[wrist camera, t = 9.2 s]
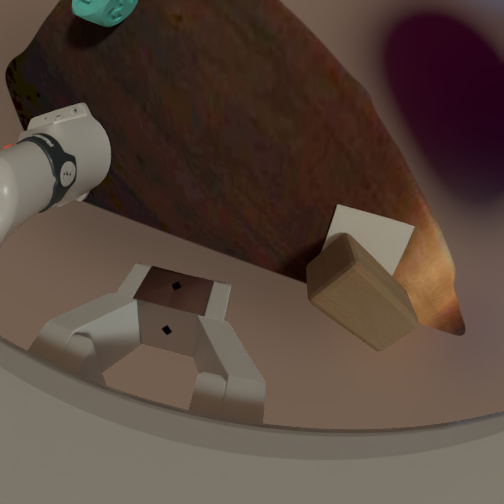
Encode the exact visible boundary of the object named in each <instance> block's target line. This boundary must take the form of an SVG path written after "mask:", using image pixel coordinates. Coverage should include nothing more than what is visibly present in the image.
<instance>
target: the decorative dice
mask: <svg viewBox="0 0 504 504" xmlns="http://www.w3.org/2000/svg"><path fill="white" fill-rule="evenodd" d="M137 2H138V0H72V12H73V14H75V15H77V16H79V17H81V18H83V19H85V20H88V21H90V22H93V23H96V24H98V25H101V26H105V27H111V26H114V25H116V24H118V23H120V22H121V21H123V20H124V19H125V18H126V17H127V16H128V15H129V14H130V13H131V12H132V11H133V9H134V8H135V6H136V4H137Z"/></svg>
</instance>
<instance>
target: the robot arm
mask: <svg viewBox="0 0 504 504" xmlns="http://www.w3.org/2000/svg"><path fill="white" fill-rule="evenodd" d="M75 110H77V112H76V111H75ZM110 161H111V148H110V142H109V139H108V136H107V134H106V132H105V130H104V128H103V127H102V126H101V125H100V123H99V122H98V121H96V120H95V119H94V118H93V117H92V115H91V113H90V111H89V109H88V107H87V105H86V104H85V103H79V104H75V105H72V106H68V107H65V108H61V109H58V110H55V111H52V112H49V113H46V114H43V115H40V116H37V117H35V118H32V119H31V121H30V123H29V126H28V130H27V131H24V132H22V133H21V135H20V136H19V139H18V143H17V144H16V145H14V144H8V145H5V146H4V147H3V150H1V151H0V248H1V246H2V245H3V243H4V242H5V241H6V240H7V238H8V237H9V236H10V235H11V234H12V233H13V232H14V231H15V230H16V229H17V228H19V227H20V226H21V225H22V224H24V223H25V222H26V221H27V220H29V219H30V218H32V217H33V216H34V215H35V214H37V213H41V212H44V211H46V210H48V209H50V208H52V207H53V206H57V207H61V206H63V205H64V204H66V203H69V202H70V201H72V200H74V199H75V200H77V201H82V200H84V199H85V198H86V197H87V195H88V194H89V192H90V190H91V189H93V188H94V187H96V186H97V185H99V184H100V183H101V182H102V181H103V179H104V178H105V176H106V174H107V172H108V170H109V166H110ZM230 289H231V284H230V283H226V282H220V281H212V280H208V279H203V278H199V277H194V276H190V275H185V274H182V273H178V272H174V271H170V270H166V269H162V268H159V267H155V266H150V265H146V264H142V263H137V264H135V266H134V267H133V268H132V270H131V271H130V273H129V274H128V276H127V277H126V278H125V280H124V281H123V283H122V285H121V286H120V288H119V289H118V290H117V292H116V293H115V294H114V293H109V294H107V295H104V296H102V297H100V298H98V299H96V300H93V301H91V302H89V303H87V304H84V305H82V306H80V307H78V308H75V309H73V310H71V311H69V312H67V313H65V314H62V315H60V316H58V317H56V318H54V319H51V320H49V321H48V322H47V323H46V325H45V326H44V328H43V329H42V330H41V332H40V333H39V334H38V336H37V338H36V339H35V340H34V342H33V343H32V345H31V346H30V348H29V349H28V351H27V350H25V349H23V348H21V347H19V346H17V345H15V344H14V343H12V342H10V341H8V340H7V339H5V338H3V337H1V336H0V504H504V412H499V413H494V414H490V415H486V416H481V417H476V418H471V419H466V420H460V421H454V422H448V423H441V424H434V425H425V426H416V427H404V428H390V429H357V430H356V429H354V430H353V429H317V428H301V427H290V426H279V425H270V424H263V417H264V401H265V384H266V382H265V381H264V379H263V378H262V376H261V374H260V373H259V371H258V370H257V368H256V366H255V365H254V363H253V362H252V360H251V358H250V357H249V355H248V354H247V352H246V350H245V348H244V347H243V345H242V344H241V342H240V340H239V339H238V337H237V335H236V334H235V332H234V330H233V329H232V327H231V325H230V324H229V322H227V321H224V318H225V313H226V308H227V303H228V299H229V294H230ZM141 343H142V344H145V345H149V346H154V347H157V348H162V349H166V350H169V351H173V352H177V353H180V354H184V355H188V356H191V357H194V361H195V364H196V366H197V369H198V372H199V375H198V376H197V380H196V384H195V388H194V391H193V395H192V399H191V403H190V407H189V410H186V409H182V408H177V407H173V406H170V405H166V404H162V403H158V402H155V401H152V400H148V399H145V398H142V397H138V396H135V395H132V394H129V393H126V392H123V391H120V390H117V389H114V388H111V387H108V386H106V383H105V380H104V377H103V375H102V373H103V372H104V371H105V370H107V369H108V368H109V367H111V366H112V365H114V364H115V363H116V362H118V361H119V360H120V359H122V358H123V357H125V356H126V355H127V354H129V353H130V352H132V351H133V350H134V349H135V348H137V347H138V346H140V345H141Z"/></svg>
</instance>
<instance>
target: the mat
mask: <svg viewBox="0 0 504 504" xmlns="http://www.w3.org/2000/svg"><path fill="white" fill-rule="evenodd" d="M413 230H414V226H412V225H409V224H406V223H402V222H399V221H396V220H392V219H389V218H386V217H382V216H379V215H375V214H372V213H368V212H364V211H361V210H357V209H354V208H350V207H346V206H342V205H338V204H337V207H336V210H335V213H334V216H333V219H332V222H331V225H330V228H329V231H328V234H327V237H326V240H325V243H324V246H323V249H322V251H323V250H324V249H326V248H327V247H328V246H329V245H330V244H331V243H332V242H334V241H335V240H336V239H337V238H338V237H339V236H340V235H342V234H343V233H345V232H346V233H348V234H350V235H351V236H352V237H353V238H354V239H355V240H356V241H357V242H358V243H359V244H360V245H361V246H362V247H363V248H364V249H366V250H367V251H368V252H369V253H370V254H371V255H372V256H373V257H374V258H375V259H376V260H377V261H378V262H379V263H380V264H381V265H382V267H383V268H384V269H385V270H386V271H387V272H388V273H389V274H390V275H391V276H392V275H393V273H394V271H395V269H396V267H397V265H398V263H399V261H400V259H401V256H402V254H403V252H404V250H405V248H406V246H407V243H408V241H409V239H410V237H411V234H412V232H413ZM322 251H321V252H322Z"/></svg>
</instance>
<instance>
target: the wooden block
mask: <svg viewBox="0 0 504 504" xmlns="http://www.w3.org/2000/svg"><path fill="white" fill-rule="evenodd" d="M306 275H307V288H308V299H309V301H310V302H311V303H312V305H314V306H315V307H317V308H318V309H319V310H321V311H322V312H323V313H325V314H326V315H327V316H329V317H330V318H332V319H333V320H334V321H336V322H337V323H338V324H340V325H341V326H343V327H344V328H345V329H347V330H348V331H349V332H351V333H352V334H353V335H355V336H356V337H358V338H359V339H361V340H362V341H363V342H364V343H366V344H367V345H369V346H370V347H371V348H373V349H374V350H376V351H382V350H383V349H385V348H386V347H388V346H390V345H391V344H393V343H394V342H396V341H397V340H399V339H400V338H402V337H403V336H405V335H406V334H408V333H409V332H411V331H412V330H413V329H415V328H416V327H417V326H418V325H419V322H418V318H417V316H416V313H415V311H414V308H413V306H412V304H411V301H410V299H409V297H408V294H407V292H406V290H405V289H404V288H403V287H402V286H401V285H400V284H399V283H398V282H397V281H396V280H395V279H394V278H393V277H392V276H391V275H390V274H389V273H388V272H387V271H386V270H385V269H384V268H383V267H382V265H381V264H380V263H379V262H378V261H377V260H376V259H375V258H374V257H373V256H372V255H371V254H370V253H369V252H368V251H367V250H366V249H364V248H363V247H362V246H361V245H360V244H359V243H358V242H357V241H356V240H355V239H354V238H353V237H352V236H351V235H350V234H348V233H346V232H345V233H343V234H342V235H340V236H339V237H338V238H337V239H336V240H335V241H334V242H332V243H331V244H330V245H329V246H328V247H327V248H326V249H324V250H323V251H322V252H321V253H320V254H319V255H318V256H316V257H315V258H314V259H313V260H312V261H311V262H309V263H308V265H307V267H306Z"/></svg>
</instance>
